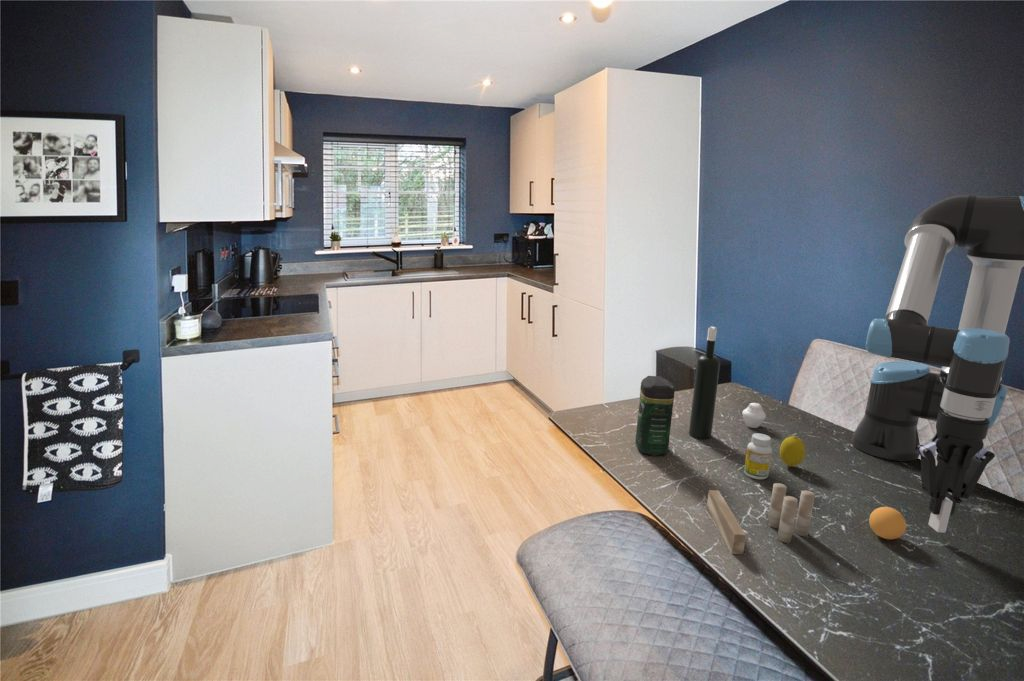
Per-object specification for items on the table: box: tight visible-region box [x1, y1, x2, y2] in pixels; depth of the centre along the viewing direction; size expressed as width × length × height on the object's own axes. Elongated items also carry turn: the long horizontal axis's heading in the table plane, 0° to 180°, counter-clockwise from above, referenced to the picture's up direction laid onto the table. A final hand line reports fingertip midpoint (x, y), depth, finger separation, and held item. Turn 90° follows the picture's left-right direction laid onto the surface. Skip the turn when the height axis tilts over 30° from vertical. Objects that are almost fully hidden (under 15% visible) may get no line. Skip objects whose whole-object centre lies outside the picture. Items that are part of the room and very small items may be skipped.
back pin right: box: [766, 482, 788, 529], centre depth 116 cm, size 2×2×8 cm
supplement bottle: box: [743, 432, 773, 480], centre depth 136 cm, size 5×5×10 cm
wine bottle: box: [688, 325, 721, 440], centre depth 155 cm, size 6×6×30 cm
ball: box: [868, 506, 907, 540], centre depth 113 cm, size 6×6×6 cm
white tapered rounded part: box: [741, 402, 767, 429], centre depth 165 cm, size 6×6×7 cm
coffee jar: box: [634, 375, 676, 456], centre depth 147 cm, size 10×8×19 cm
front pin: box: [793, 489, 816, 537], centre depth 113 cm, size 2×2×8 cm
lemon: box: [779, 435, 806, 467], centre depth 141 cm, size 6×6×8 cm
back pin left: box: [776, 495, 799, 544], centre depth 111 cm, size 2×2×8 cm
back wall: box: [706, 489, 747, 555], centre depth 114 cm, size 2×16×4 cm, turn 178°
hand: (936, 528), depth 113 cm, fingers closed
